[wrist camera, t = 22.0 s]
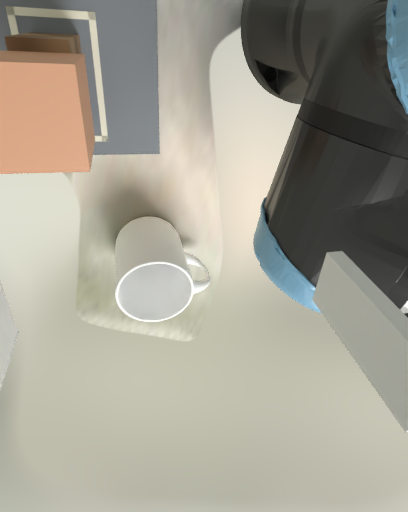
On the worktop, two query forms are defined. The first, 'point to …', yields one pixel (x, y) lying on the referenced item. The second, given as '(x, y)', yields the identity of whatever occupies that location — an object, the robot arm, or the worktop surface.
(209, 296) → the worktop surface
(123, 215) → the worktop surface
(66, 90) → the cap cube
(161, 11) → the worktop surface
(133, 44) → the baseboard
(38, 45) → the tall cardboard box
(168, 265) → the mug
